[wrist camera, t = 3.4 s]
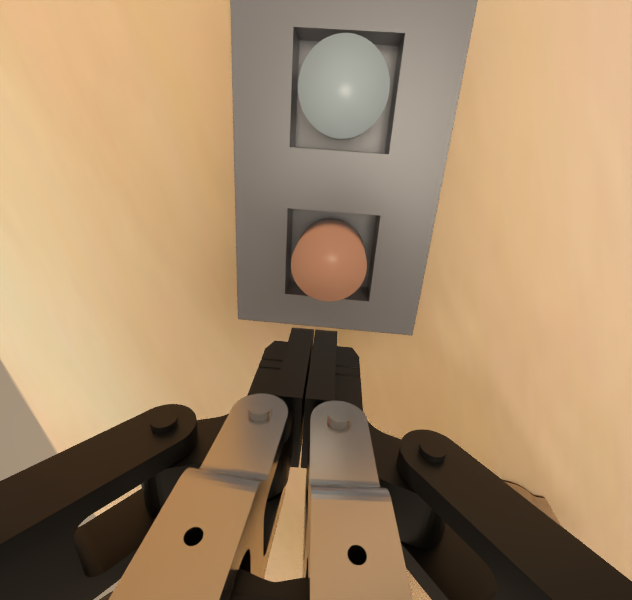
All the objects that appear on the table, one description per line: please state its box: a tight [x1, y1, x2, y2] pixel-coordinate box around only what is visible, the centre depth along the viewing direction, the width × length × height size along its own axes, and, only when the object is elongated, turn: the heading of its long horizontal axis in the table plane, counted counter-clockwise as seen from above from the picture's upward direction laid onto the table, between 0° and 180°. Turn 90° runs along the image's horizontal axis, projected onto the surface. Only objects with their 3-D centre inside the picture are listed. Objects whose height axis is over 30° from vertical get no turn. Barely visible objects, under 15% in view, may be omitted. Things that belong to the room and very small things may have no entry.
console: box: [230, 0, 478, 335], centre depth 20 cm, size 12×28×3 cm, turn 176°
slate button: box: [298, 33, 390, 139], centre depth 19 cm, size 4×4×3 cm
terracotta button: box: [291, 219, 367, 301], centre depth 22 cm, size 4×4×3 cm
